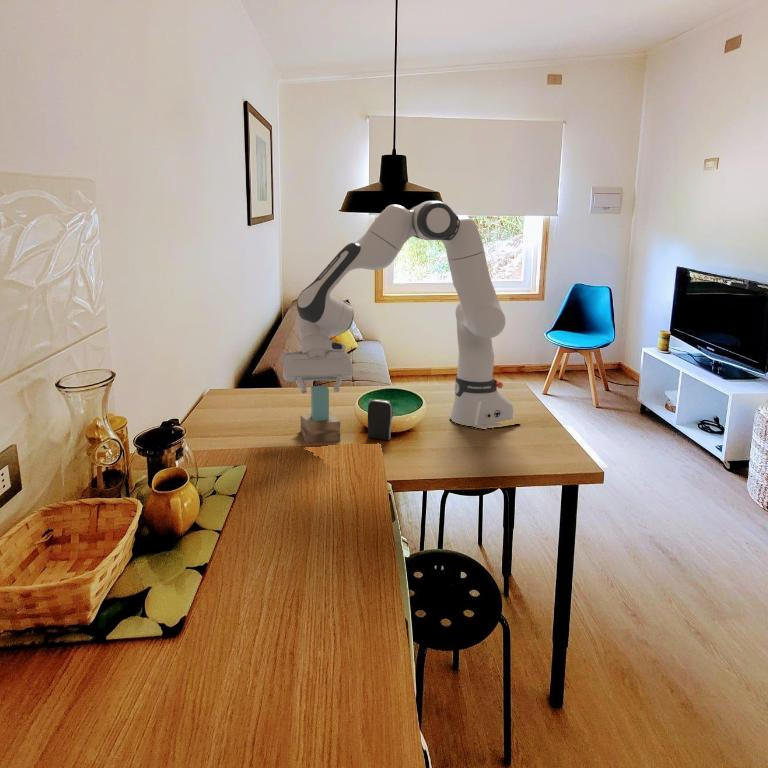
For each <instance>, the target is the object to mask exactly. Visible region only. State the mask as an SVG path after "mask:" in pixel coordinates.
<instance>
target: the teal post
mask: <svg viewBox="0 0 768 768" xmlns="http://www.w3.org/2000/svg"><path fill="white" fill-rule="evenodd" d="M310 397H311V398H310V403H311V404H310V406H311V407H310V408H311V409H310V410H311V412H310V414H311V416H312V419H313V421H323V420H329V412H330V390H329V387H328V386H327V385H312V386H311V387H310Z"/></svg>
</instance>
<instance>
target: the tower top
mask: <svg viewBox="0 0 768 768" xmlns="http://www.w3.org/2000/svg"><path fill="white" fill-rule="evenodd" d="M301 426H302V427H303V428H304V429H305V430H306V431H307V432H308V433H309V434H310V435H311V434H320V433H329V432H338V431H340V432H341V421H340V420H339V418H337V417H336V416H335V415H334V414H332V413H331V412H330V411H329V420H323V421H313V419H312V416H311V413H309V414H308V413H307V414H301V415H300V427H301Z"/></svg>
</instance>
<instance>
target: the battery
mask: <svg viewBox="0 0 768 768" xmlns="http://www.w3.org/2000/svg"><path fill="white" fill-rule="evenodd" d="M393 415H394V404H393V402H392V401H390V400H389V399H388V400H386V399H381V398H374V399H372V400H370V401H369V403H368V406H367V438H370V439H376V440H382V441H383V440H384V441H389V440H390V439H391V438H392V437H391V435H392V434H391V432H392V431H391V429H392V421H393V420H392V419H393Z"/></svg>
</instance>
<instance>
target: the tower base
mask: <svg viewBox="0 0 768 768" xmlns="http://www.w3.org/2000/svg"><path fill="white" fill-rule="evenodd" d="M300 433H301V435H302V438H303V440H304V443H307V444H310V443H323V442H324V443H325V442H327V443H328V442H340V441H341V430H340V431H338V432H329V433H320V434H311V435H310V434H309V433H308V432H307V431H306V430H305V429H304V428H303V427H302V426H301V425H300Z"/></svg>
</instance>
